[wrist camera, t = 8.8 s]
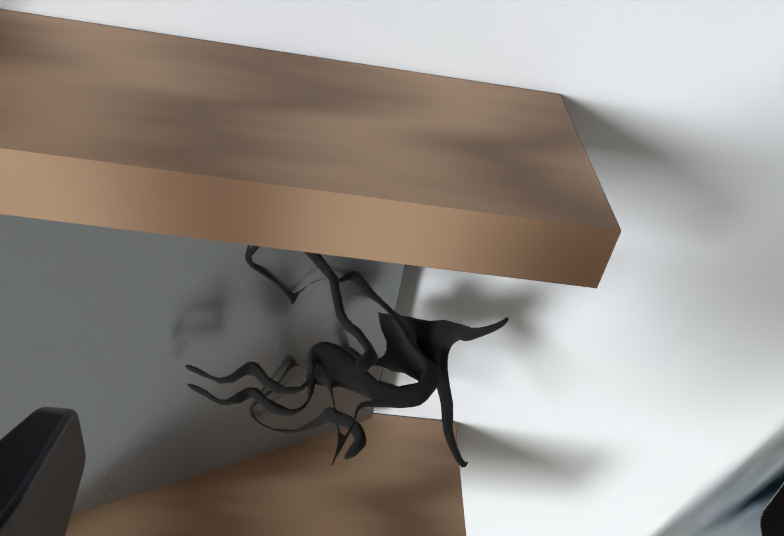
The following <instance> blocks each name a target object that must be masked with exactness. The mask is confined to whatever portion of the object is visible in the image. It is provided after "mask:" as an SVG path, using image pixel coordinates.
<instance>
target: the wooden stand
mask: <svg viewBox="0 0 784 536" xmlns="http://www.w3.org/2000/svg"><path fill="white" fill-rule="evenodd" d="M0 214H4V215H12V216H20V217H28V218H36V219H44V220H52V221H60V222H68V223H76V224H84V225H92V226H101V227H109V228H117V229H125V230H133V231H141V232H149V233H157V234H165V235H173V236H181V237H189V238H197V239H205V240H213V241H221V242H229V243H237V244H245V245H253V246H261V247H269V248H277V249H285V250H293V251H301V252H309V253H318V254H326V255H334V256H342V257H350V258H358V259H366V260H374V261H382V262H390V263H398V264H406V265H414V266H422V267H430V268H438V269H446V270H454V271H462V272H470V273H478V274H486V275H494V276H502V277H510V278H518V279H526V280H534V281H543V282H551V283H559V284H567V285H575V286H583V287H591V288H597V287H598V284H599V282H600V280H601V277H602V275H603V273H604V270H605V268H606V266H607V263H608V261H609V259H610V256H611V254H612V251H613V249H614V247H615V244H616V242H617V240H618V237H619V235H620V233H621V229H620V227H619V224H618V222H617V220H616V218H615V216H614V213H613V211H612V209H611V207H610V204H609V202H608V200H607V198H606V195H605V193H604V191H603V189H602V187H601V184H600V182H599V180H598V178H597V175H596V173H595V171H594V169H593V166H592V164H591V162H590V160H589V158H588V155H587V153H586V151H585V149H584V146H583V144H582V142H581V140H580V137H579V135H578V133H577V131H576V129H575V126H574V124H573V122H572V120H571V117H570V115H569V113H568V111H567V108H566V106H565V104H564V102H563V100H562V97H561V95H560V94H555V93H548V92H542V91H535V90H529V89H522V88H515V87H509V86H502V85H496V84H489V83H482V82H476V81H469V80H463V79H456V78H450V77H443V76H436V75H430V74H423V73H417V72H410V71H403V70H397V69H390V68H384V67H377V66H370V65H364V64H357V63H351V62H344V61H337V60H331V59H324V58H318V57H311V56H304V55H298V54H291V53H285V52H278V51H271V50H265V49H258V48H252V47H245V46H239V45H232V44H225V43H219V42H212V41H206V40H199V39H192V38H186V37H179V36H173V35H166V34H159V33H153V32H146V31H140V30H133V29H126V28H120V27H113V26H107V25H100V24H93V23H87V22H80V21H74V20H67V19H60V18H54V17H47V16H41V15H34V14H27V13H21V12H14V11H8V10H1V9H0ZM360 424H361V426H362V427H363V429H364V432H365V435H366V445H365V447H364V448H363V449H362V450H361V451H360V452H359V453H358V454H357V455H356V456H355V457H352V458H350V459H345V460H344V457H345V453H346V452H347V450H348V448H349V447H350V445H351V444H352V443H353V441H354V438H353V436H352V434H351V433H350V434H349V436H348V437H347V439H346V441H345V443H344V445H343V447H342V449H341V451H340V452H339V454H338V456H337V457H336V459H335V462H334V463H333V465H332V462H333V459H334V455H335V453H336V449H337V445H338V430H335V431H332V432H329V433H326V434H323V435H320V436H316V437H313V438H310V439H307V440H304V441H301V442H298V443H295V444H292V445H288V446H285V447H282V448H279V449H276V450H273V451H270V452H267V453H264V454H260V455H257V456H254V457H251V458H248V459H245V460H242V461H239V462H236V463H232V464H229V465H226V466H223V467H220V468H217V469H214V470H211V471H208V472H204V473H201V474H198V475H195V476H192V477H189V478H186V479H183V480H180V481H176V482H173V483H170V484H167V485H164V486H161V487H158V488H155V489H152V490H148V491H145V492H142V493H139V494H136V495H133V496H130V497H127V498H124V499H120V500H117V501H114V502H111V503H108V504H105V505H102V506H99V507H96V508H92V509H89V510H86V511H83V512H80V513H77V514H74V515H71V517H70V520H69V524H68V527H67V531H66V534H65V536H466V529H465V519H464V508H463V498H462V488H461V477H460V467H459V464H458V463H457V462H456V460H455V458H454V456H453V455H452V453H451V450H450V448H449V446H448V444H447V442H446V439H445V435H444V432H443V425H442V421H440V420H430V419H421V418H411V417H401V416H391V415H382V414H373V415H372V419H369V420H366V421H363V422H360ZM339 430H340V432H341V433H342V434H343V435H344V436H345V435H346V433H347V432H348V429H347V428H346V427H344V428H341V429H339ZM453 432H454V436H455V440H456V443H457V436H456V425H455V422H453ZM457 447H458V446H457Z"/></svg>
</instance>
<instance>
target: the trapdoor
mask: <svg viewBox="0 0 784 536" xmlns="http://www.w3.org/2000/svg"><path fill="white" fill-rule="evenodd" d="M252 246H253V245H245V244H237V243H229V242H221V241H213V240H205V239H197V238H189V237H181V236H173V235H165V234H157V233H149V232H141V231H133V230H125V229H117V228H109V227H101V226H92V225H84V224H76V223H68V222H60V221H52V220H44V219H36V218H28V217H20V216H12V215H4V214H0V439H2V438H3V437H4V436H5V435H6V434H8V433H9V432H10V431H11V430H12V429H13V428H15V427H16V426H17V425H18V424H19V423H21V422H22V421H23V420H24V419H25V418H26V417H28V416H29V415H30V414H31V413H32V412H34V411H35V410H37V409H39V408H41V407H57V408H68V409H73V410H74V411H76V413H77V414H78V417H79V421H80V426H81V432H82V437H83V442H84V447H85V453H86V458H85V466H84V471H83V474H82V478H81V481H80V485H79V489H78V492H77V496H76V499H75V503H74V506H73V510H72V513H71V515H74V514H77V513H80V512H83V511H86V510H89V509H92V508H96V507H99V506H102V505H105V504H108V503H111V502H114V501H117V500H120V499H124V498H127V497H130V496H133V495H136V494H139V493H142V492H145V491H148V490H152V489H155V488H158V487H161V486H164V485H167V484H170V483H173V482H176V481H180V480H183V479H186V478H189V477H192V476H195V475H198V474H201V473H204V472H208V471H211V470H214V469H217V468H220V467H223V466H226V465H229V464H232V463H236V462H239V461H242V460H245V459H248V458H251V457H254V456H257V455H260V454H264V453H267V452H270V451H273V450H276V449H279V448H282V447H285V446H288V445H292V444H295V443H298V442H301V441H304V440H307V439H310V438H313V437H316V436H320V435H323V434H326V433H329V432H332V431H335V430H337V424H333V423H324V424H322V425H320V426H317V427H315V428H313V429H310V430H307V431H303V432H295V433H282V432H278V431H274V430H271V429H269V428H266V427H264V426H262V425H260V424H259V423H258V422H256V421H255V420H254V419H253V418H252V417H251V416H250V413H249V411H250V407H251V406H252V404H253V403H254V402H255V401H256V399H254V398H253V397H252V398H248V399H247V400H245V401H244V402H242V403H239V404H232V405H228V406H225V405H219V404H217V403H216V402H214V401H212V400H210V399H208V398H206V397H204V396H203V395H201V394H199V393H197V392H196V391H194V390H192V389H191V388H189V387H188V386H187V384H194V385H196V386H199V387H201V388H203V389H205V390H206V391H208V392H209V393H210V394H212V395H213V396H215V397H217V398H218V399H228V398H230V397H232V396H233V395H235V394H236V393H238V392H239V391H241V390H243V389H245V388H249V387H254V388H257V389H259V390H260V391H261V392H262V393H263V394H265V393H266V392H267V391H268V390H269V389H267V388H266V387H264V386H263V385H262V384H261V383H260V382H259V381H258V380H257V379H256V377H255V376H251V375H246V376H243V377H242V378H240V379H239V380H237V381H235V382H233V383H223V384H219V383H217V382H215V381H213V380H211V379H208V378H205V377H202V376H200V375H198V374H196V373H194V372H191V371H189V370H188V369H187V368H186V367H185V365H191V366H194V367H197V368H199V369H201V370H202V371H204V372H206V373H208V374H209V375H211V376H215V377H218V378H220V377H226V376H228V375H231V374H232V373H234V372H235V371H236V370H237V369H238V368H240V367H241V366H242V365H244V364H245V363H247V362H250V361H252V362H256V363H258V364H259V365H260V366H261V367H262V368H263V370H264V371H265V373H266V374H267V376H268V377H270V378H271V379H273V380H274V381H276V382H278V381H279V379H280V378H281V377H282V375H283V373H284V371H285V370H286V368H287V366H288V363H289V361H290V358H291V357H292V358H293V360H295V362H296V363H297V364H298V365H300V366H295V367H293V368H290V370H289V371H288V372H287V374H286V375H285V377H284V378H283V379H282V381H281V382H280V384H281V385H283V386H285V387H300V386H301V385H302V384H303V383H304V382H305V381H306V374H307V372H308V370H309V369H305V368H309V366H308V359H307V354H308V352H309V350H310V349H311V347H312V346H313V345H315V344H317V343H320V342H326V341H327V342H330V343H334V344H337V345H339V346H340V347H341V348H343V349H344V348H345V347H352V348H353V349H355V350H356V351H357V352H358V353H360V354H361V355H363V353H364V352H365V351H364V348H363V347H362V346H361V344H360V343H359V342H358V340H357V339H356V338H355V337H354V336H353V335H351V334H350V333H349V332H347V331H346V330H344V329H343V328H342V326H341V324H340V322H339V321H338V319H337V317H336V313H335V309H334V304H333V299H332V293H331V288H330V283H329V280H328V278H327V277H326V276H325V275H324V274H323V273H322V272H321V271H320V269H319V268H318V267H317V266H316V265H315V264H314V263H313V262H312V260H311V259H310V258H309V257H308V256H307V255H306V254H305V253H304V252H301V251H293V250H285V249H277V248H269V247H259V248H258V249H257V251H256V252H255V253H254V254H253V255H252V256H251V258H252V260H253V263H254V264H255V265H256V266H258V267H259V268H261V269H262V270H264V271H266V272H267V273H269V274H270V275H272V276H273V277H274V278H275V279H276V280H277V281H278V282H279V283H281V284H282V285H283V286H284V287H285V288H286V289H287V290H289V291H290V292H292V293H296V292H298V291H300V290H302V289H303V288H304V287H306V286H307V285H308V284H309V285H308V286H307V287H306V288H305V289H304V290H303V291H301V292H300V293H299V295H298V297H297V299H296V301H295V302H294V305H292V304H291V302H290V299H289V298H288V296H287V295H286V294H285V293H284V292H283V290H282V289H281V288H280V287H279V286H278V285H276V284H275V283H273V282H272V281H270V280H269V279H268V278H266V277H265V276H263V275H262V274H260V273H259V272H257V271H256V270H254V269H253V268H251V267H250V266H249V264H248V263H247V262H246V254H247V252H248V250H249V249H250V248H251V247H252ZM321 256H322V257H323V258H324V259H325V261H326V262H327V263H328V265H329V266H330V267H331V269H332V270H333V271H334V272H335V274H336V275H337V276H338V278H339V279H340V278H341V277H343V276H344V275H346V274H348V273H349V272H352V271H355V272H358V273H360V274H361V276H362V277H363V278H364V279H365V280H366V282H367V283H368V284H369V285H370V287H371V288H372V289H373V291H374V292H375V293H376V294H377V295H378V296H379V297H380V298H381V299H382V300H383V301H384V302H385V303H386V304H388V305H389V306H390V307H391V308H392V309H393V310H394V311H395V308H396V303H397V299H398V294H399V289H400V285H401V280H402V275H403V271H404V266H405V264H398V263H390V262H382V261H374V260H366V259H358V258H350V257H342V256H334V255H326V254H321ZM323 278H324V279H323ZM320 279H322V280H320ZM316 280H319V281H317V282H314V281H316ZM311 282H314V283H311ZM310 283H311V284H310ZM339 287H340V292H341V296H342V300H343V306H344V310H345V314H346V315H347V317H348V319H349V320H350V321H351V322H352V323H353V324H354V325H356V326H357V327H358V328H360V329H361V331H362V332H363V333H364V335H365V336H366V338H367V339H368V340H369V341H370V343H371V344H372V346H373V347H374V349H375V351H376V353H377V356H378V358H380V357H383V355H384V353H385V352H386V340H385V337H384V334H383V332H382V330H381V326H380V322H379V315H378V312H380V313H386V314H389V313H388V312H387V311H386V310H385V309H384V308H382V307H381V306H380V305H379V304H378V303H377V302H375V301H374V300H372V299H370V298H369V297H367V296H366V295H365V294H364V293H363V291H362V290H361V289H360V288H359V286H358V285H357V284H356V283H355V282H354V281H351V280H348V281H344V282H339ZM301 366H302V367H301ZM382 368H383V367H380V366H372V367H371V368H370V369H368V370H367V371H368V372H369V373H370V374H371V375H372V376H373V377H374V378H375V379H377V380H378V381H380V378H381V373H382ZM333 397H334V402H335V409H337V410H338V411H340V412H342V413H345V414H347V415H350V416H352V417H353V418H354V415H355V411H356V408H357V406H358V405H359V404H360V403H361V402H365V401H372V399H370V398H367V397H365V396H363V395H361V394H358V393H356V392H354V391H351V390H348V389H345V388H342V387H334V388H333ZM266 398H268V399H270V400H272V401H274V402H276V403H278V404H280V405H282V406H284V407H286V408H288V409H290V410H291V409H296V408H300V407H301V406H302V405H303V404H304V403H305V402H306V401H307V400H308V393H307V387H306V388H305V389H303V390H302V391H300V392H298V393H296V394H276V393H274V392H272V393H270V394H269V395H267V396H266ZM327 407H332V408H334V406H333V401H332V397H331V395H330V392H329V390H328V388H327V387H325V386H321V385H317V384H315V388H314V393H313V395H312V397H311V399H310V401H309V403H308V404H307V406H306V407H305V408H304V409H303V410H301V411H300V412H298V413H296V414H295V415H293V416H283V415H277V414H272V413H271V412H270V411H268V410H267V409H265V408H264V407H263V406H262V405H261V404H260V403H259V402H258V403H257V404H256V405H255V406H254V407H253V415H254V416H255V417H256V418H257V419H258V421H259V422H261V423H263V424H265V425H267V426H269V427H271V428H273V429H289V430H296V429H298V428H300V427H302V426H303V425H305V424H307V423H309V422H310V421H312V420H314V419H316V418H317V417H318V416H319V415H320V414H321V413H322V411H323V410H324V409H326V408H327ZM373 410H374V407H363V408H361V409H360V410H359V411H358V414H357V417H356V421H357V422H358V423H360V422H363V421H366V420H369V419H372V415H373ZM341 428H344V426H341V425H339V429H341Z"/></svg>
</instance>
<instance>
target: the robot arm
mask: <svg viewBox="0 0 784 536" xmlns="http://www.w3.org/2000/svg"><path fill="white" fill-rule="evenodd" d="M85 458H86V453H85V447H84V442H83V437H82V432H81V426H80V421H79V417H78V414H77V413H76V411H74V410H73V409H68V408H57V407H41V408H39V409H37V410H35V411H34V412H32V413H31V414H30V415H29V416H28V417H26V418H25V419H24V420H23V421H22V422H21V423H19V424H18V425H17V426H16V427H15V428H13V429H12V430H11V431H10V432H9V433H8V434H6V435H5V436H4V437H3V438H2V439H0V536H65V534H66V531H67V527H68V524H69V520H70V517H71V513H72V510H73V506H74V503H75V499H76V496H77V492H78V489H79V485H80V481H81V478H82V474H83V471H84V466H85ZM760 527H761V534H762V536H784V483H783V485H782V486H781V487H780V489H779V490H778V491H777V493H776V494H775V495H774V497H773V498H772V499H771V501H770V502H769V503H768V504H767V506H766V507H765V508H764V510H763V512H762V515H761V521H760Z"/></svg>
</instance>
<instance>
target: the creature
mask: <svg viewBox="0 0 784 536" xmlns="http://www.w3.org/2000/svg"><path fill="white" fill-rule="evenodd" d="M259 247H261V246H252V247H251V248H250V249H249V250H248V252H247V254H246V262H247V263H248V264H249V266H250V267H251V268H253V269H254V270H256V271H257V272H259V273H260V274H262V275H263V276H265V277H266V278H268V279H269V280H270V281H272V282H273V283H275V284H276V285H278V286H279V287H280V288H281V289H282V290H283V292H284V293H285V294H286V295H287V296H288V298H289V299H290V302H291V304H292V305H294V302H295V301H296V299H297V297H298V295H299V293H300V292H301V291H303V290H304V289H305V288H306V287H307V286H308V285H309V284H308V285H307V286H306V287H304V288H303V289H302V290H300V291H298V292H296V293H292V292H290V291H289V290H287V289H286V288H285V287H284V286H283V285H282V284H281V283H279V282H278V281H277V280H276V279H275V278H274V277H273V276H272V275H270V274H269V273H267V272H266V271H264V270H262V269H261V268H259V267H258V266H256V265H255V264H254V263H253V260H252V258H251V256H252V255H253V254H254V253H255V252H256V251H257V249H258V248H259ZM304 253H305V254H306V255H307V256H308V257H309V258H310V259H311V260H312V262H313V263H314V264H315V265H316V266H317V267H318V268H319V269H320V271H321V272H322V273H323V274H324V275H325V276H326V277H327V278H328V280H329V283H330V288H331V293H332V299H333V304H334V309H335V313H336V317H337V319H338V321H339V322H340V324H341V326H342V328H343V329H344V330H346V331H347V332H349V333H350V334H351V335H353V336H354V337H355V338H356V339H357V340H358V342H359V343H360V344H361V346H362V347H363V348H364V351H365V352H364V353H363V355H361V354H360V353H358V352H357V351H356V350H355V349H353V348H352V347H345V348H344V349H343V348H341V347H340V346H339V345H337V344H334V343H330V342H327V341H326V342H320V343H317V344H315V345H313V346H312V347H311V349H310V350H309V352H308V354H307V359H308V366H309V368H305V369H309V370H308V372H307V374H306V381H305V382H304V383H303V384H302V385H301V386H300V387H285V386H283V385H281V384H280V382H281V381H282V379H283V378H284V377H285V375H286V374H287V372H288V371H289V370H290V368H293V367H295V366H300V365H298V364H297V363H296V362H295V360H293V358H292V357H291V358H290V361H289V363H288V366H287V368H286V370H285V371H284V373H283V375H282V377H281V378H280V379H279V381H278V382H276V381H274V380H273V379H271V378H270V377H268V376H267V374H266V373H265V371H264V370H263V368H262V367H261V366H260V365H259V364H258V363H256V362H252V361H250V362H247V363H245V364H244V365H242V366H241V367H240V368H238V369H237V370H236V371H235V372H234V373H232V374H231V375H228V376H226V377H220V378H218V377H215V376H211V375H209V374H208V373H206V372H204V371H202V370H201V369H199V368H197V367H194V366H191V365H185V367H186V368H187V369H188V370H189V371H191V372H194V373H196V374H198V375H200V376H202V377H205V378H208V379H211V380H213V381H215V382H217V383H219V384H223V383H233V382H235V381H237V380H239V379H240V378H242V377H243V376H246V375H251V376H255V377H256V379H257V380H258V381H259V382H260V383H261V384H262V385H263V386H264V387H266V388H267V389H269V390H268V391H267V392H266V393H265V394H263V393H262V392H261V391H260V390H259V389H257V388H254V387H249V388H245V389H243V390H241V391H239V392H238V393H236V394H235V395H233V396H232V397H230V398H228V399H218V398H217V397H215V396H213V395H212V394H210V393H209V392H208V391H206V390H205V389H203V388H201V387H199V386H196V385H194V384H187V386H188V387H189V388H191V389H192V390H194V391H196V392H197V393H199V394H201V395H203V396H204V397H206V398H208V399H210V400H212V401H214V402H216V403H217V404H219V405H225V406H228V405H232V404H239V403H242V402H244V401H245V400H247V399H248V398H252V397H253V398H254V399H256V401H255V402H254V403H253V404H252V406H251V407H250V411H249V413H250V416H251V417H252V418H253V419H254V420H255V421H256V422H258V423H259V424H260V425H262V426H264V427H266V428H269V429H271V430H274V431H278V432H282V433H295V432H303V431H307V430H310V429H313V428H315V427H317V426H320V425H322V424H324V423H333V424H337V430H338V445H337V449H336V453H335V455H334V459H333V462H332V465H333V463H334V462H335V459H336V457H337V456H338V454H339V452H340V451H341V449H342V447H343V445H344V443H345V441H346V439H347V437H348V436H349V434H350V433H351V434H352V436H353V438H354V441H353V443H352V444H351V445H350V447H349V448H348V450H347V452H346V453H345V457H344V460H345V459H350V458H352V457H355V456H356V455H357V454H358V453H359V452H360V451H361V450H362V449H363V448H364V447H365V445H366V435H365V432H364V429H363V427H362V426H361V424H360V423H358V422H357V421H356V417H357V414H358V411H359V410H360V409H361V408H363V407H392V408H407V407H415V406H418V405H421V404H422V403H424V402H425V401H426V400H427V399H428V398H429V397H430V395H431V394H432V393H433V392H434V391H435V389H436V388H437V390H438V394H439V397H440V402H441V411H442V425H443V432H444V435H445V439H446V442H447V444H448V446H449V448H450V450H451V453H452V455H453V456H454V458H455V460H456V462H457V463H458V464H459V465H460V466H461V467H465V466H466V465H467V464H468V462H465V461H464V460H463V459H462V457H461V454H460V452H459V449H458V447H457V443H456V440H455V436H454V432H453V401H452V395H451V390H450V384H449V376H448V354H449V351H450V348H451V346H452V345H453V344H454V343H455V342H456V341H458V340H462V341H469V340H473V339H476V338H479V337H481V336H484V335H487V334H489V333H491V332H494V331H496V330H498V329H499V328H501V327H502V326H504V325H505V324H506V323H507V321H508V317H506V318H505V319H503V320H502V321H500V322H498V323H495V324H492V325H489V326H485V327H481V328H470V327H468V326H465V325H462V324H458V323H454V322H450V321H447V320H438V321H426V320H420V319H415V318H412V317H407V316H400V315H399V314H398V313H396V312H395V311H394V310H393V309H392V308H391V307H390V306H389V305H388V304H386V303H385V302H384V301H383V300H382V299H381V298H380V297H379V296H378V295H377V294H376V293H375V292H374V291H373V289H372V288H371V287H370V285H369V284H368V283H367V282H366V280H365V279H364V278H363V277H362V276H361V274H360V273H358V272H355V271H352V272H349V273H348V274H346V275H344V276H343V277H341V278H340V279H339V278H338V276H337V275H336V274H335V272H334V271H333V270H332V269H331V267H330V266H329V265H328V263H327V262H326V261H325V259H324V258H323V257H322V256H321V254H318V253H309V252H304ZM323 279H324V278H323ZM320 280H322V279H320ZM348 280H351V281H354V282H355V283H356V284H357V285H358V286H359V288H360V289H361V290H362V291H363V293H364V294H365V295H366V296H367V297H369V298H370V299H372V300H374V301H375V302H377V303H378V304H379V305H380V306H381V307H382V308H384V309H385V310H386V311H387V312H388V313H389V314H386V313H380V312H378V315H379V322H380V326H381V330H382V332H383V334H384V337H385V340H386V352H385V353H384V355H383V357H380V358H378V356H377V353H376V351H375V349H374V347H373V346H372V344H371V343H370V341H369V340H368V339H367V338H366V336H365V335H364V333H363V332H362V331H361V329H360V328H358V327H357V326H356V325H354V324H353V323H352V322H351V321H350V320H349V319H348V317H347V315H346V314H345V310H344V306H343V300H342V296H341V292H340V287H339V282H344V281H348ZM317 281H319V280H316V281H314V282H317ZM314 282H311V283H314ZM311 283H310V284H311ZM372 366H380V367H384V368H387V369H389V370H391V371H393V372H401V373H405V374H407V375H409V376H411V377H412V378H414V379H416V380H418V383H414V384H409V385H403V386H395V385H392V384H388V383H385V382H382V381H378V380H377V379H375V378H374V377H373V376H372V375H371V374H370V373H369V372H368V371H367V370H368V369H370V368H371V367H372ZM301 367H302V366H301ZM315 384H317V385H321V386H325V387H327V388H328V390H329V392H330V395H331V397H332V401H333V406H334V408H332V407H327V408H326V409H324V410H323V411H322V413H321V414H320V415H319V416H318V417H317V418H316V419H314V420H312V421H310V422H309V423H307V424H305V425H303V426H302V427H300V428H298V429H296V430H289V429H273V428H271V427H269V426H267V425H265V424H263V423H261V422H259V421H258V419H257V418H256V417H255V416H254V415H253V407H254V406H255V405H256V404H257V403H258V402H259V403H260V404H261V405H262V406H263V407H264V408H265V409H267V410H268V411H270V412H271V413H272V414H277V415H283V416H293V415H295V414H296V413H298V412H300V411H301V410H303V409H304V408H305V407H306V406H307V404H308V403H309V401H310V399H311V397H312V395H313V393H314V388H315ZM306 387H307V393H308V400H307V401H306V402H305V403H304V404H303V405H302V406H301V407H300V408H296V409H291V410H290V409H288V408H286V407H284V406H282V405H280V404H278V403H276V402H274V401H272V400H270V399H268V398H266V396H267V395H269V394H270V393H272V392H274V393H276V394H296V393H298V392H300V391H302V390H303V389H305V388H306ZM334 387H342V388H345V389H348V390H351V391H354V392H356V393H358V394H361V395H363V396H365V397H367V398H370V399H372V401H365V402H361V403H360V404H359V405H358V406H357V408H356V411H355V415H354V418H353V417H352V416H350V415H347V414H345V413H342V412H340V411H338V410H337V409H335V402H334V397H333V388H334ZM339 425H341V426H344V427H346V428H347V429H348V432H347V433H346V435H345V436H344V435H343V434H342V433H341V432H340V430H339Z"/></svg>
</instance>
